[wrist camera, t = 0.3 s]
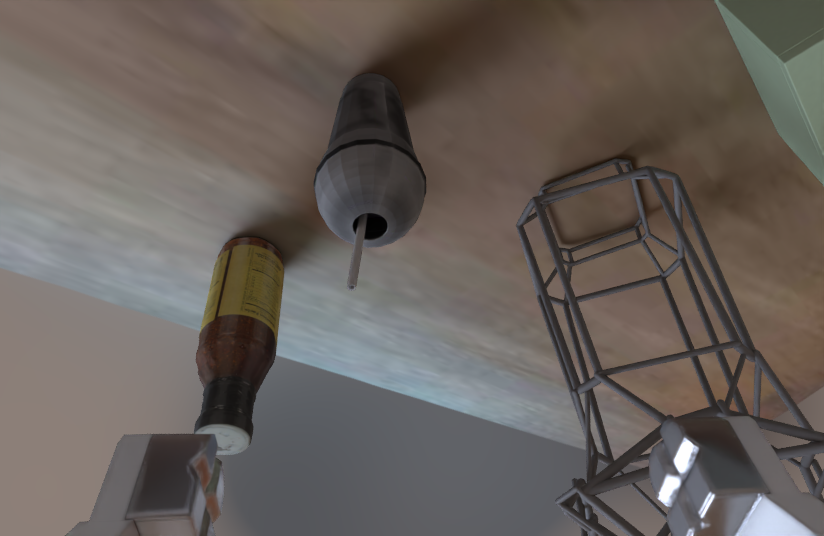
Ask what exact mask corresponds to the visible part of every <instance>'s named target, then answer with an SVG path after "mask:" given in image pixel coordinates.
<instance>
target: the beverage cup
mask: <svg viewBox="0 0 824 536" xmlns="http://www.w3.org/2000/svg"><path fill="white" fill-rule="evenodd" d="M313 184H314V190H315V196H316V200H317V204H318V209H319V212H320V214H321V216H322V217H323V219H324V221H325V222H326V224H327V226H328V227H329V228H330V229H331V230H332V231H333V232H334V233H335V234H336V235H337V236H338V237H340V238H341V239H342V240H345V241H347V242H349V243H351V244H353V245H354V248H353V254H352V260H351V266H350V271H349V277H348V283H347V289H349V290H355V289H356V284H357V278H358V272H359V266H360V260H361V254H362V248H363V247H367V248H369V247H381V246H384V245H387V244H391V243H393V242H395V241H396V240H398V239H400V238H401V237H403V236H404V235H405V234H406V233H407V232H408V231H409V230H410V229H411V228H412V226H413V225H414V224H415V223H416V221H417V219H418V217H419V214H420V212H421V209H422V206H423V203H424V197H425V194H426V176H425V174H424V171H423V169H422V167H421V164H420V163H419V162H418V160H417V157H416V155H415V153H414V150H413V146H412V142H411V137H410V133H409V129H408V125H407V121H406V116H405V112H404V108H403V104H402V102H401V99H400V96H399V93H398V90H397V88H396V86H395V85H394V84H393V83H392V82H391V80H389V79H387V78H386V77H384V76H382V75H378V74H374V73H369V74H362V75H359V76H356V77H355V78H353V79H352V80H351V81H349V82H348V84H347V85H346V87H345V88H344V90H343V94H342V97H341V98H340V102H339V106H338V110H337V114H336V118H335V122H334V126H333V130H332V134H331V138H330V142H329V146H328V150H327V151H326V153H325V154H324V156H323V158H322V160H321V162H320V165H319V166H318V167H317V170H316V174H315V178H314V183H313Z"/></svg>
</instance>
